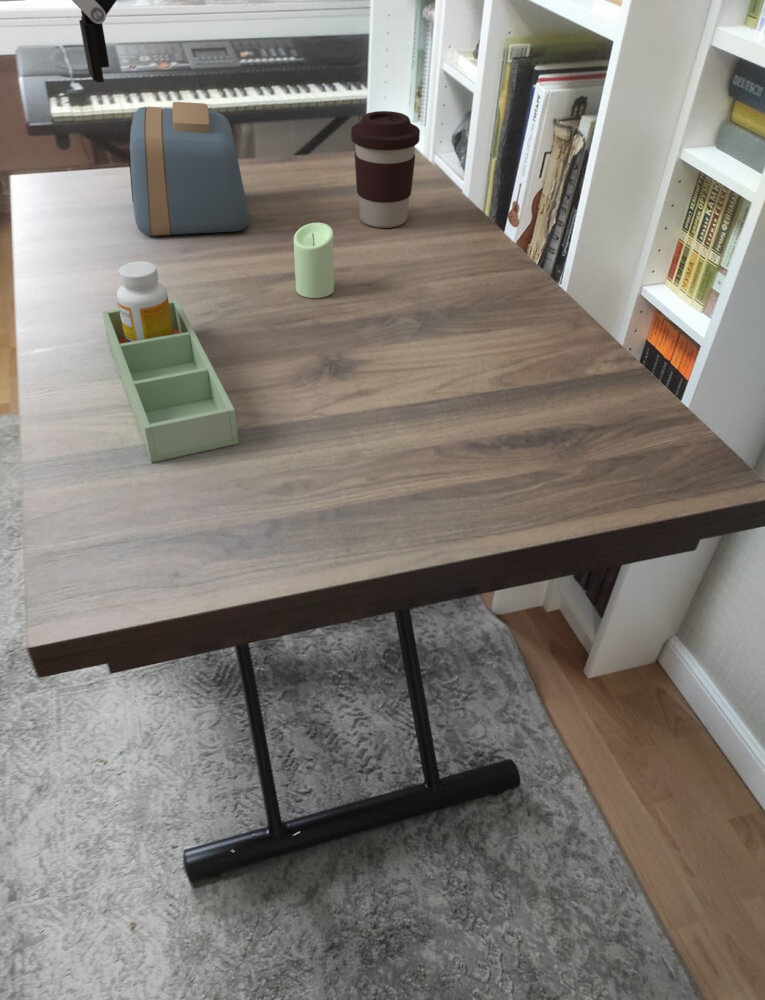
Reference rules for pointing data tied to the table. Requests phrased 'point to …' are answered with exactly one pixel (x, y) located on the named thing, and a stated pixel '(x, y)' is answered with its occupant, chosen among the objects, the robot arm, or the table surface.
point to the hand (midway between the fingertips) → (32, 83)
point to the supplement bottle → (143, 303)
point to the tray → (172, 389)
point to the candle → (314, 260)
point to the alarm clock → (185, 171)
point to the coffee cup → (384, 166)
